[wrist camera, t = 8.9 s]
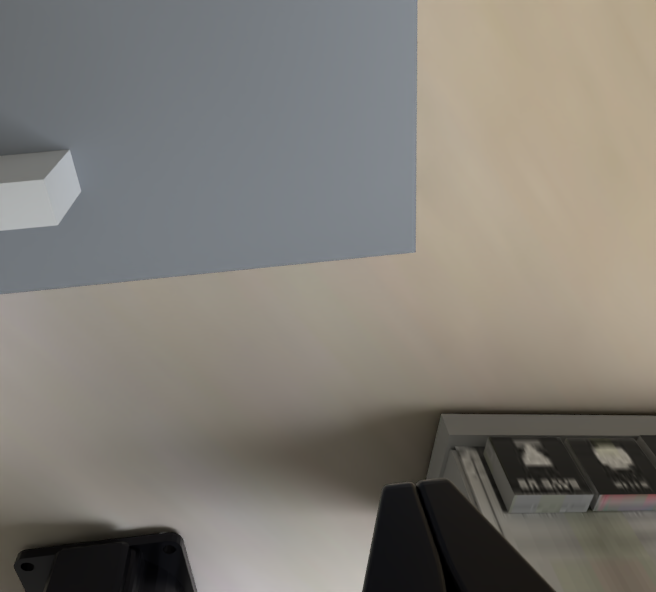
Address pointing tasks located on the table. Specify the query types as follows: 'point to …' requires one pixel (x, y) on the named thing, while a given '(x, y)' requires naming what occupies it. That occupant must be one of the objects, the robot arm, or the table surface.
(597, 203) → the table surface
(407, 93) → the grey piece
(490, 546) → the robot arm
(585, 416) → the cassette tape recorder
